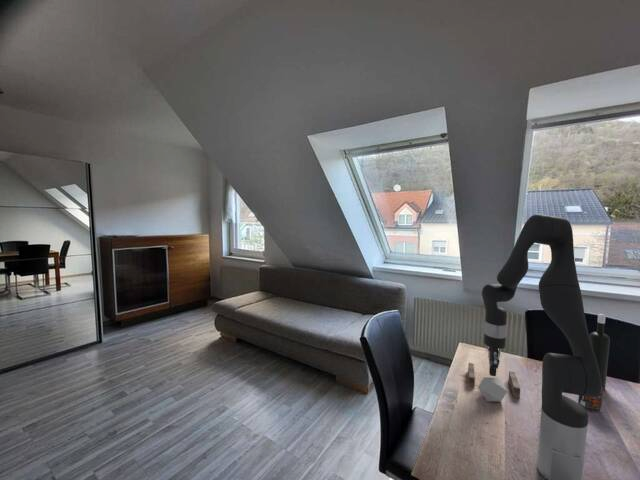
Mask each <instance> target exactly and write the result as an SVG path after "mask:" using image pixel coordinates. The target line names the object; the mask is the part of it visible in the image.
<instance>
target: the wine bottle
mask: <svg viewBox="0 0 640 480" xmlns="http://www.w3.org/2000/svg"><path fill="white" fill-rule="evenodd" d="M606 317H607V315H606V314H604V313H597V325H596V326H597V327H596V331H593V332H590V333H589V337H590V340H591V344H592V347H593V350H594V354H595V357H596V360H597V364H598V367H599V371H600V375H601V381H602V387H603V390H604V391H605V390H606V383H607V373H608V372H607V371H608V366H609V365H608V363H609V354H610V344H611V338H610V336H609V335H608V334H606V333H605V324H606Z"/></svg>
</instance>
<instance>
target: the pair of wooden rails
mask: <svg viewBox="0 0 640 480" xmlns="http://www.w3.org/2000/svg"><path fill="white" fill-rule="evenodd" d="M475 374H476V373H475V365H474V363H472V362H471V363H470V362H468V367H467V378H468V387H469V388H474V389H475V386H476V385H475V384H476V376H475ZM508 383H509V388H510V391H511V393H512V396H513V398H516V399H520V398H521V386H520V384H519V383H520V382H519V380H518V377H517V375H516V372H515V371H510V370H509V371H508Z"/></svg>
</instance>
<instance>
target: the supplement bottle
mask: <svg viewBox="0 0 640 480" xmlns="http://www.w3.org/2000/svg"><path fill="white" fill-rule="evenodd" d="M603 393H604V391H603V387H602V390H601V394H600V395H599V396H598V397H587V396H581V395H578V399H577V400H578V401H577V403H578V404H580V405H581V406H582V407H583V408H584V409H585V410H586V411H587V412H591V413H599V412H601V409H602V402H603Z"/></svg>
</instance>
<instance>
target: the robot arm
mask: <svg viewBox="0 0 640 480" xmlns="http://www.w3.org/2000/svg"><path fill="white" fill-rule="evenodd" d="M534 244H540V245H545V246H549V248H550V253H551V256H550V257H551V261H550V263H549V265H548V267H547V268H546V269H545V271H544V272H543V274H542V275H541V277H540V279H539V281H538V292H539V301H540V304H541V307H542V309H543V311H544V312H545V313H546V314H547V316H548V317H549V318H550V319H551V321H552V322H553V323H554V324H555V325H556V326H557V327H558V329H559V330H560V331H561V332H562V333H563V335H564V336H565V338H566V340H567V341H568V344H569V346H570V348H571V351H572V354H573V355H569V354H563V353H554V352H547V353H545V354H544V356H543V358H542V364H541V365H542V366H541V367H542V368H541V375H542V376H541V377H542V378H541V408H540V409H541V410H540V421H539V422H540V423H539V432H538V433H539V435H538V444H537V445H538V446H537V459H536V467H537V470H538V472H539V473H540V475H541V476H542V477H543V478H544V479H545V480H546V479H547V480H583V479H584V477H583V476H584V466H585V457H586V456H585V455H586V445H587V436H588V435H587V434H588V425H589V414H588V410H586V409H584V408H583V407H582V406H581V405H580V404H579V403H578V401H576V400H573V399H571V398H569V397H568V396H565V395H564V394H570V395H576V396H579V395H581V396H587V397H598V396H599V395H600V394H601V390H602V381H601V375H600V371H599V367H598V364H597V360H596V357H595V354H594V350H593V347H592V344H591V340H590V333H589V331H588V330H589V329H588V325H587V320H586V314H585V307H584V303H583V302H584V301H583V296H582V292H581V286H580V283H579V278H578V273H577V266H576V260H575V249H574V233H573V227H572V224H571V222H570V221H569V220H568V219H567V218H565V217H562V216H561V217H559V216H554V215H547V214H541V213H539V214H538V213H537V214H533V215H531V216H529V218H528V219H527V220H526V221H525V222H524V225H523V226H522V229H521V231H520V233H519V235H518V237H517V240H516V241H515V243H514V247H513V249H512V251H511V253H510V255H509V258H508V259H507V261H506V262H505V263H504V265H503V266H502V268H501V269H500V271H499V272H498V273H497V276H496V280H497V282H498V283H488V284H485V285H484V286H483V288H482V290H481V295H482V296H481V297H482V300H483V304H484V309H485V318H484V319H485V320H484V321H485V322H484V326H483V327H484V328H483V330H484V331H483V344H484V345H485V346H487V352H488V353H487V358H488V364H489V365H488V366H489V371H488V372H489V373H488V374H489V376H491V377H497V369H499V366H500V362H501V361H500V357H501V351H500V350H501V349H505V348H506V347H507V346H506V345H507V343H506V342H507V329H508V328H507V319H508V317H507V315H508V312H507V309H505V308H503V307H500V306H498V303H503V302H504V303H506V302H509V301H511V300H512V299H513V298H514V296H515V295H516V292H517V288H518V286H519V284H520V283H521V281H522V280H523V279H524V277H526V275H527V273H528V271H529V258H528V257H529V256H528V252H529V250H530V249H531V248H532V247H533V245H534ZM563 393H564V394H563Z"/></svg>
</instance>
